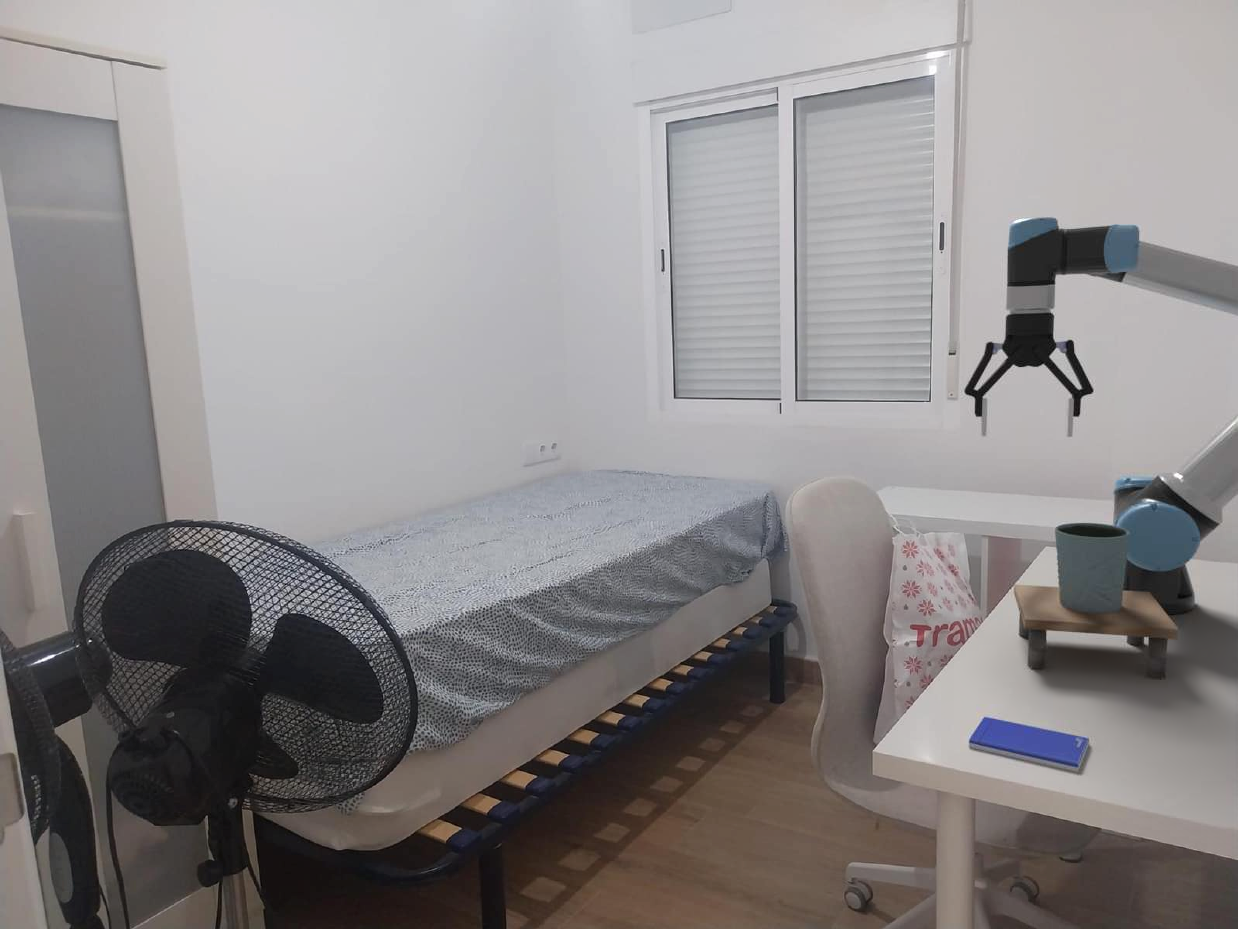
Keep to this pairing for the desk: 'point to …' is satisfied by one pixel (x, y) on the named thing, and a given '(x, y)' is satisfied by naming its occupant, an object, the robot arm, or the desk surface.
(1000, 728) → the hard drive
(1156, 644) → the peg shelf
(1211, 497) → the robot arm
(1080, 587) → the teal plant pot
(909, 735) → the desk surface
